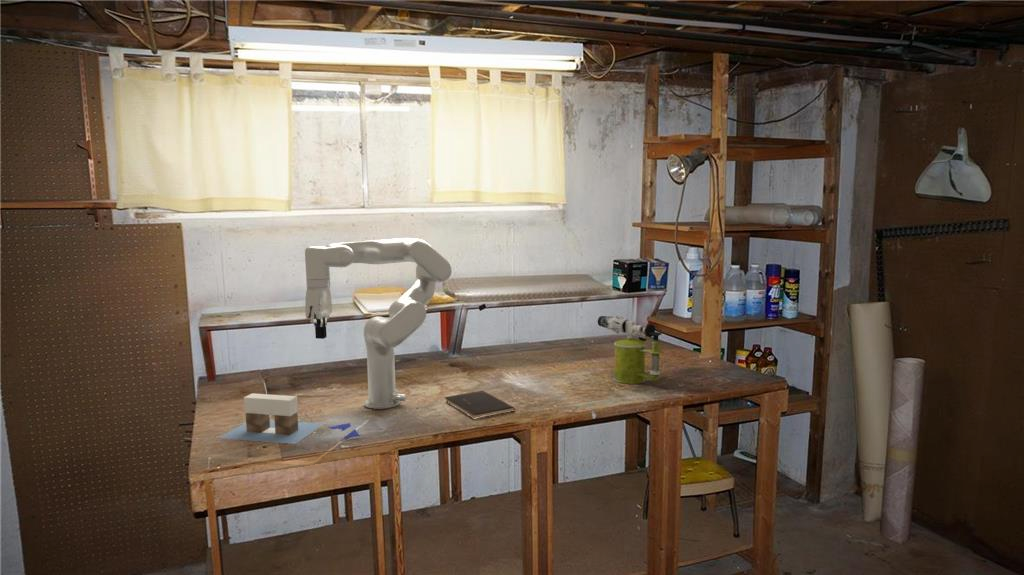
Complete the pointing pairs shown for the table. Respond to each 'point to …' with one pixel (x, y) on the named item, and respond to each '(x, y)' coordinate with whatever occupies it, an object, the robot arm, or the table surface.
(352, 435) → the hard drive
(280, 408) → the beam
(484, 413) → the hardcover book
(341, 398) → the table surface
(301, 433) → the board
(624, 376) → the blowtorch
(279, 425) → the post
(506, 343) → the table surface
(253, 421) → the post
